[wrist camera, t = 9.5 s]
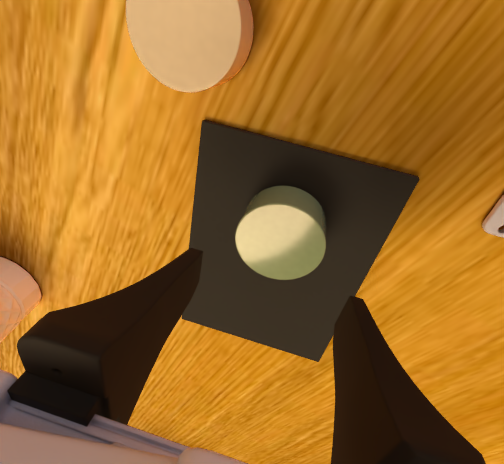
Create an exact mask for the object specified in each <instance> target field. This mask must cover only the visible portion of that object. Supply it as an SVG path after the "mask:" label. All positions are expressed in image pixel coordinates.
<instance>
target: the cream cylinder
mask: <svg viewBox="0 0 504 464" xmlns="http://www.w3.org/2000/svg"><path fill="white" fill-rule="evenodd" d="M126 20H127V27H128V32H129V35H130V39H131V42H132V45H133V47H134V49H135V52H136V54H137V56H138V57H139V59H140V61H141V62H142V64H143V65H144V66H145V68H146V69H147V70H148V71H149V72H150V73H151V75H152V76H153V77H155V78H156V79H157V80H158V81H159V82H161V83H162V84H164V85H165V86H167V87H169V88H171V89H174V90H177V91H181V92H191V93H192V92H200V91H203V90H207V89H209V88H212V87H215V86H218V85H221V84H223V83H225V82H227V81H229V80H230V79H232V78H233V77H234V76H235V75H236V74H237V73H238V72H239V71H240V70H241V68H242V67H243V65H244V64H245V62H246V60H247V57H248V55H249V52H250V49H251V45H252V40H253V16H252V11H251V7H250V4H249V0H126Z"/></svg>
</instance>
